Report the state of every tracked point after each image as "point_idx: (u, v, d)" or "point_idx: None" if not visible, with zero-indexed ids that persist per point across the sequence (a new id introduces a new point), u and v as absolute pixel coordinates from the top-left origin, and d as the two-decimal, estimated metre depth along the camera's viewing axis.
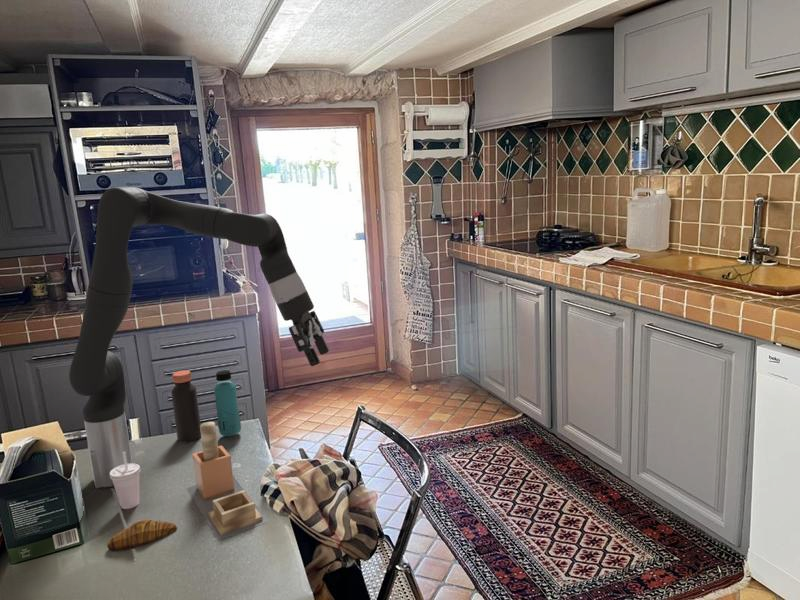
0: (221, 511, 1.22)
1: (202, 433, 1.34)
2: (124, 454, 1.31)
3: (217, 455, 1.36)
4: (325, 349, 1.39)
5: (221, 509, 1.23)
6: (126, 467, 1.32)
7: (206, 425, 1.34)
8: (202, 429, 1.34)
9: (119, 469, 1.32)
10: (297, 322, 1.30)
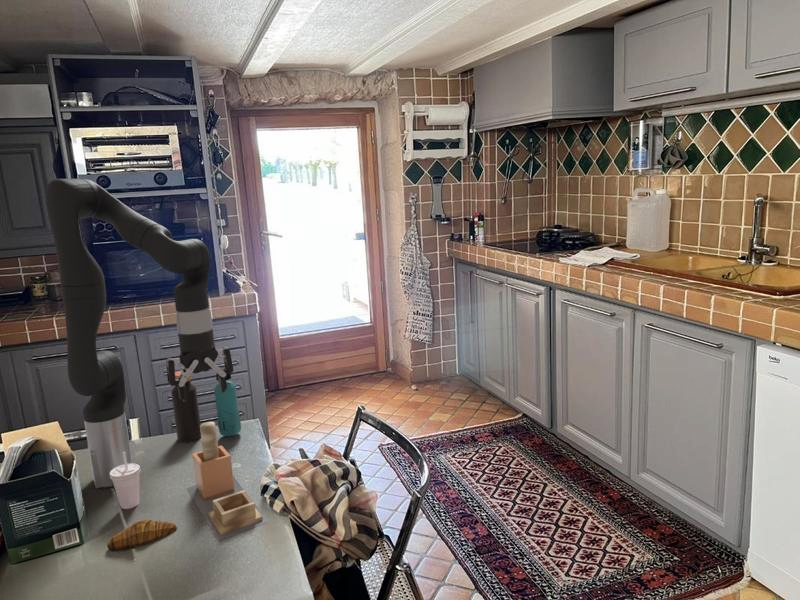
0: (221, 511, 1.22)
1: (202, 433, 1.34)
2: (124, 454, 1.31)
3: (217, 455, 1.36)
4: (221, 389, 1.35)
5: (221, 509, 1.23)
6: (126, 467, 1.32)
7: (206, 425, 1.34)
8: (202, 429, 1.34)
9: (119, 469, 1.32)
10: None
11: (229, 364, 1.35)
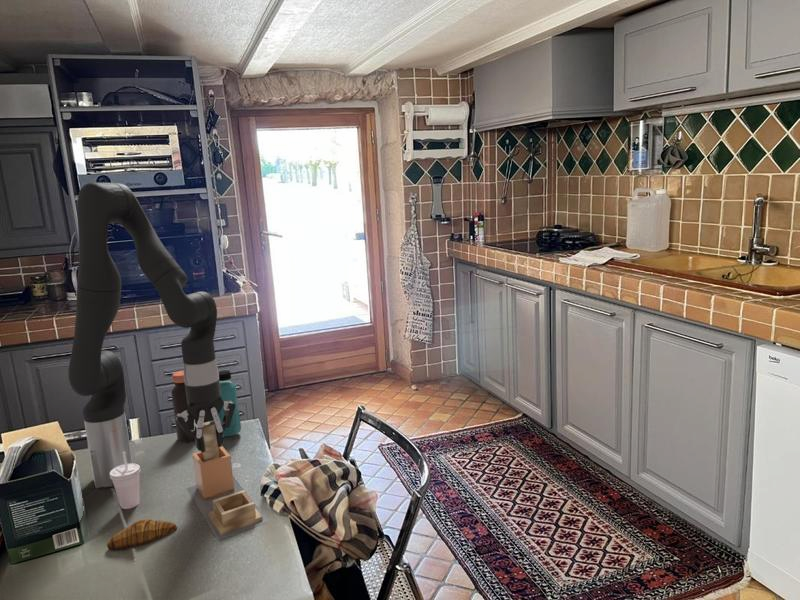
0: (221, 511, 1.22)
1: (202, 433, 1.34)
2: (124, 454, 1.31)
3: (217, 455, 1.36)
4: None
5: (221, 509, 1.23)
6: (126, 467, 1.32)
7: (206, 425, 1.34)
8: (202, 429, 1.34)
9: (119, 469, 1.32)
10: None
11: (228, 419, 1.36)
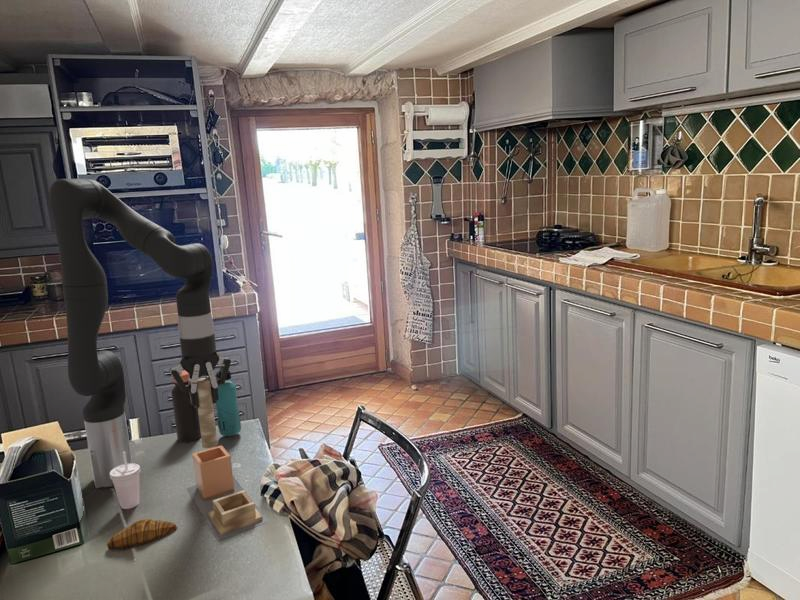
0: (221, 511, 1.22)
1: (197, 388, 1.32)
2: (124, 454, 1.31)
3: (212, 411, 1.34)
4: None
5: (221, 509, 1.23)
6: (126, 467, 1.32)
7: (201, 381, 1.32)
8: (197, 384, 1.31)
9: (119, 469, 1.32)
10: None
11: (224, 375, 1.34)
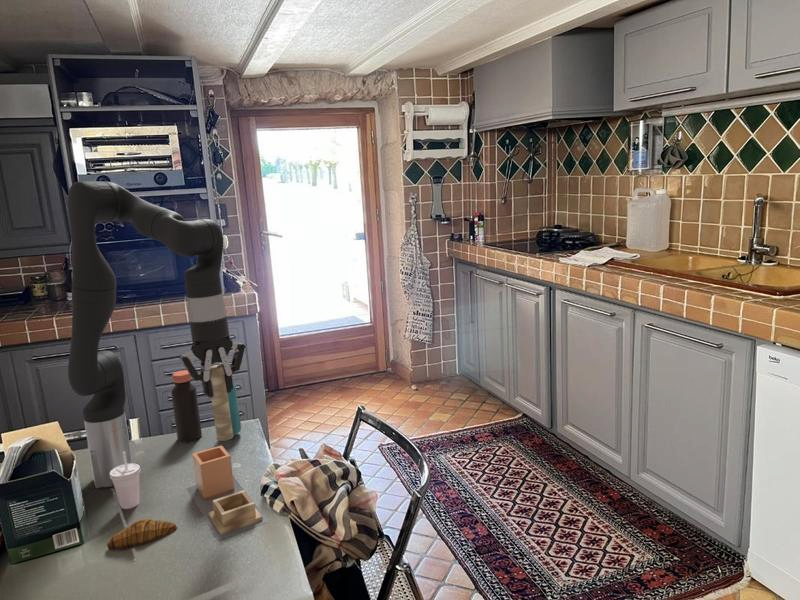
0: (221, 511, 1.22)
1: (210, 376, 1.22)
2: (124, 454, 1.31)
3: (227, 401, 1.24)
4: (227, 389, 1.24)
5: (221, 509, 1.23)
6: (126, 467, 1.32)
7: (214, 368, 1.22)
8: (210, 372, 1.22)
9: (119, 469, 1.32)
10: None
11: (238, 361, 1.24)
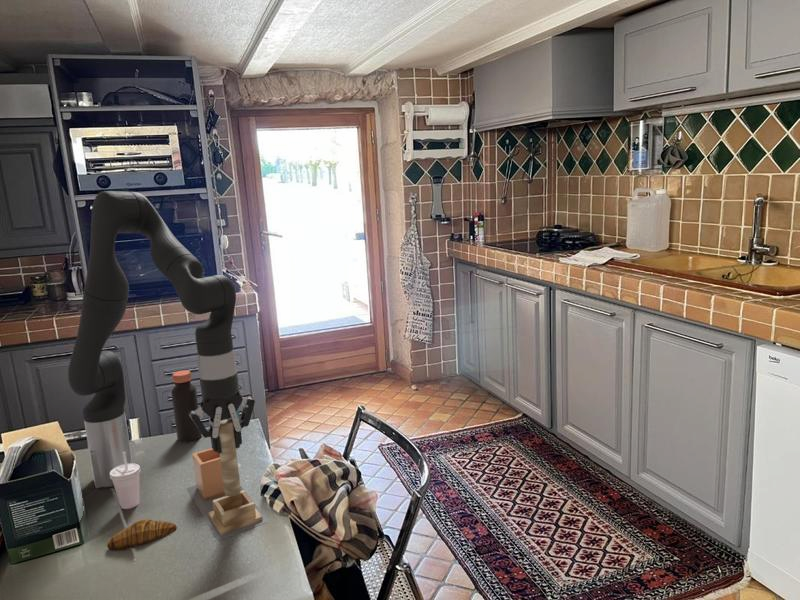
0: (221, 511, 1.22)
1: (219, 432, 1.21)
2: (124, 454, 1.31)
3: (235, 457, 1.23)
4: None
5: (221, 509, 1.23)
6: (126, 467, 1.32)
7: (223, 424, 1.21)
8: (219, 428, 1.20)
9: (119, 469, 1.32)
10: None
11: (247, 416, 1.23)
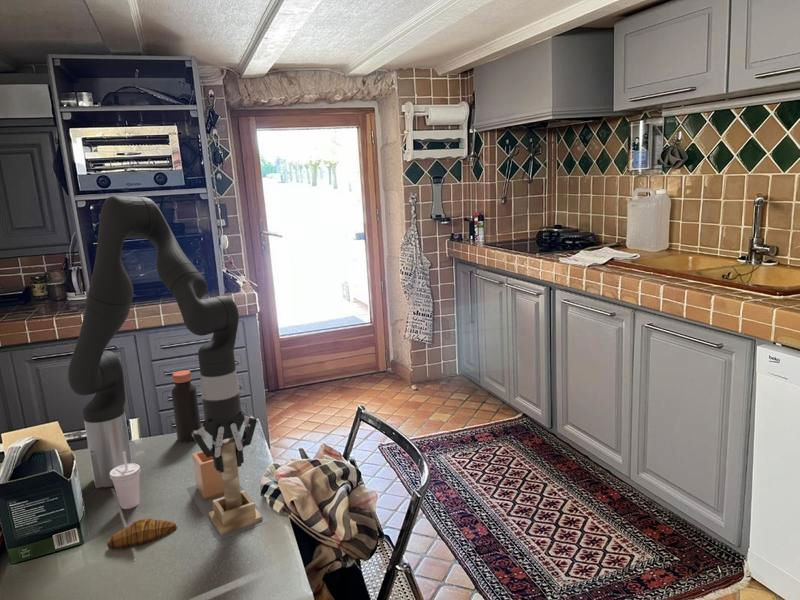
0: (221, 511, 1.22)
1: (221, 452, 1.21)
2: (124, 454, 1.31)
3: (237, 475, 1.24)
4: (237, 463, 1.24)
5: (221, 509, 1.23)
6: (126, 467, 1.32)
7: (225, 443, 1.22)
8: (221, 447, 1.21)
9: (119, 469, 1.32)
10: None
11: (249, 435, 1.24)
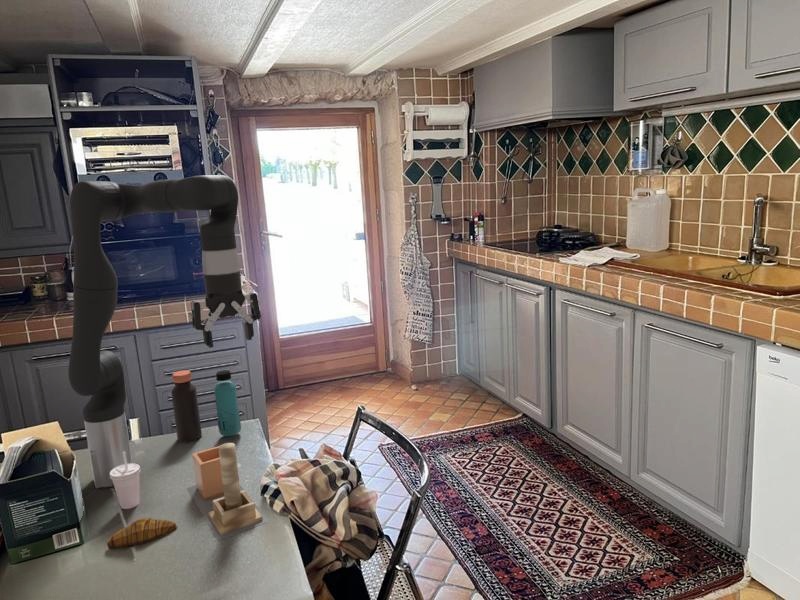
0: (221, 511, 1.22)
1: (221, 456, 1.22)
2: (124, 454, 1.31)
3: (237, 480, 1.24)
4: (247, 336, 1.28)
5: (221, 509, 1.23)
6: (126, 467, 1.32)
7: (225, 447, 1.22)
8: (221, 452, 1.21)
9: (119, 469, 1.32)
10: None
11: (256, 310, 1.28)
